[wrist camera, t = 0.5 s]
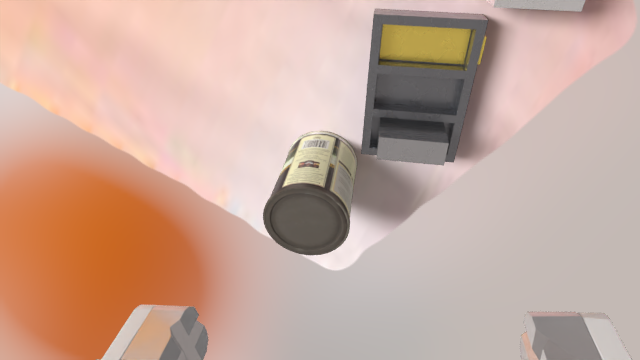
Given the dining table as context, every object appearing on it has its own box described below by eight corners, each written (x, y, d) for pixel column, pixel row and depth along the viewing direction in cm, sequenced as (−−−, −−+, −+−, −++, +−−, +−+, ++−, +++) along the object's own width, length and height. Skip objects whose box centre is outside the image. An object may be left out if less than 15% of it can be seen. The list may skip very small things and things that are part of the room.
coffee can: (311, 199, 62) (293, 265, 51) (275, 148, 58) (245, 206, 46) (370, 176, 58) (365, 241, 47) (336, 118, 54) (320, 174, 42)
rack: (374, 8, 46) (372, 22, 40) (485, 14, 44) (499, 29, 38) (362, 143, 55) (359, 169, 50) (453, 151, 54) (460, 179, 48)
